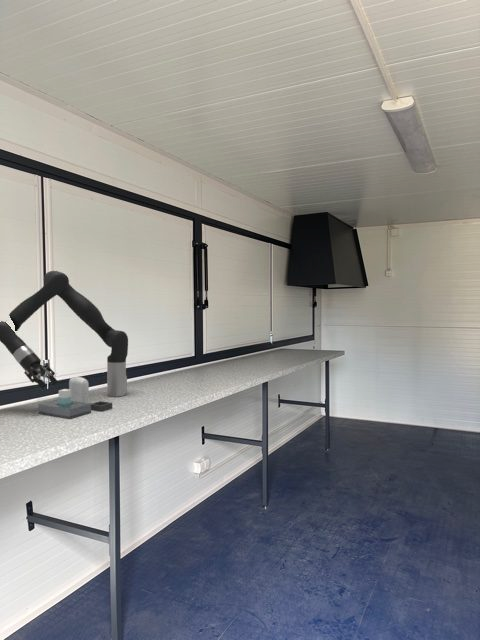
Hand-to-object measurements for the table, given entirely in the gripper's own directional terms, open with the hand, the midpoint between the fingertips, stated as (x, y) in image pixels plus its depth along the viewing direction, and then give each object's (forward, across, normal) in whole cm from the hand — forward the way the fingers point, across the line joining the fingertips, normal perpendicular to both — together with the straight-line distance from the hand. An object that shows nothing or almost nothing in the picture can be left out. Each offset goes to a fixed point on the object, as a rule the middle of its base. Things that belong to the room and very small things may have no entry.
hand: (51, 385), depth 196 cm
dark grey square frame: (+21, +10, -4) cm, 24 cm away
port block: (+13, 0, +4) cm, 13 cm away
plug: (+12, 0, +3) cm, 12 cm away
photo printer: (+10, +19, +7) cm, 22 cm away
